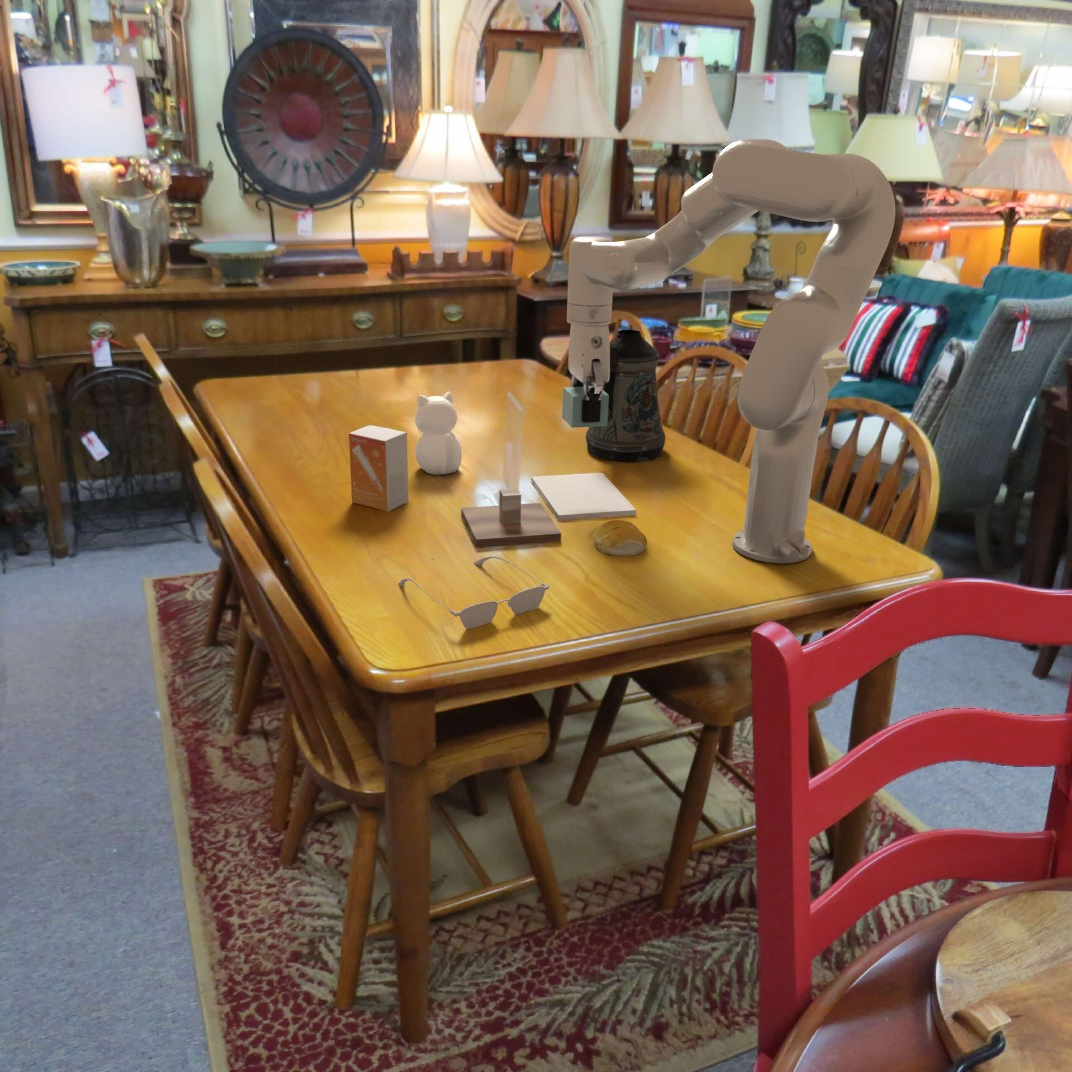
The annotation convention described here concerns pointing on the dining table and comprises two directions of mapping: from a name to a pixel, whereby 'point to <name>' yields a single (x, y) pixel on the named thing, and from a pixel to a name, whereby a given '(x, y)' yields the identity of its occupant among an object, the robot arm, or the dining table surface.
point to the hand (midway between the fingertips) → (584, 415)
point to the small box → (379, 467)
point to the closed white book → (582, 496)
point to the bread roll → (620, 538)
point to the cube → (574, 407)
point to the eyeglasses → (487, 610)
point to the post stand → (510, 522)
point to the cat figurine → (437, 435)
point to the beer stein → (630, 404)
